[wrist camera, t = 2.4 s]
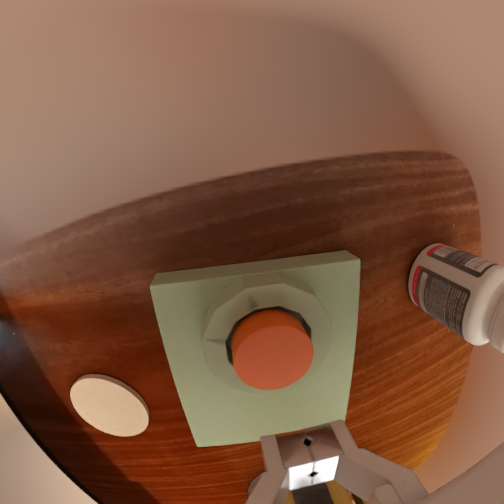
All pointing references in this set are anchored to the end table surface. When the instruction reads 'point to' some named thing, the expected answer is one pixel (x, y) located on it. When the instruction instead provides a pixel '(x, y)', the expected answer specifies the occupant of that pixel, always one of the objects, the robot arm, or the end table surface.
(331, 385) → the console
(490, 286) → the pill bottle
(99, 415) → the coaster
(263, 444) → the robot arm
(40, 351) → the end table surface
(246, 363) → the press button
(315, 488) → the lantern
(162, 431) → the end table surface
